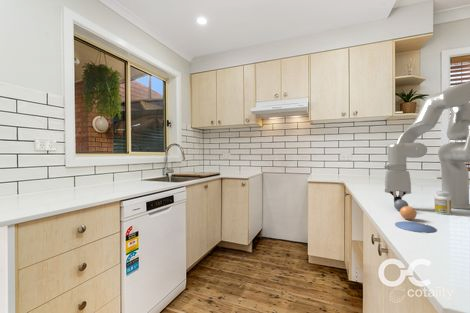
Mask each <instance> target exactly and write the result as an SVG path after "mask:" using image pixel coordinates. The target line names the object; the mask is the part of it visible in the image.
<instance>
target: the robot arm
mask: <svg viewBox="0 0 470 313" xmlns="http://www.w3.org/2000/svg"><path fill="white" fill-rule="evenodd" d="M448 109H449V110H450V115H449V116H450V117H449V121H448V125H447V129H446V137H447V138H448V139H449V140H451V141H459V142H449V143H445V144H443V145H442V146H440V147H439V148H438V152H437V155H438V158H439V162H440V169H441V191H446V192H449V195H448V197H450V198H451V209H458V210H459V209H460V210H461V209H462V210H470V180H469V179H470V176H469V174H470V172H469V168H468V166H467V165H466V163H470V80H469V81H467V82H466V81H465V82H463V83H460V84H456V85H453V86H450V87H448V88H446V89H444V90H443V91H441V92H437V93H435V94H431V95H429V96H428V97H426V98H425V99H424V101H423V103H422V105H421V106H420V109H419V112H418V114H417V116H416V117H415V120H414V121H413V123H411V124H410V125H409V127H407V128H406V129H405V130H404V131H403V133H402V134H401V135H400V136H399V138H398V140H397V143H390V144H388V145H387V165H384V167H383V168H384V169H387V170H386V171H385V179H384V193H387V194H390V195H391V196H393V203H394V202H395V201H396V200H403V197H404V196H406V195H409V194H412V183H411V182H412V181H411V175H410V172H409V171H408V170H407V169H408V168H407V165H408V164H407V159H408V158H409V159H410V158H411V159H418V158H422V157H424V156H426V155H427V154H428V148H427V146H426V145H425V144H424V143H421V142H415V141H416V140H417V139H418V138H419V137H421V136H422V135H424V134H425V133H428V132H430V131H431V130H433V129H435V127H436V126H437V124H438V122H439V120H440V118H441V115H442V114H443V112H444V111H445V110H448ZM460 141H464V142H460ZM397 192H398V195H397Z"/></svg>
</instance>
